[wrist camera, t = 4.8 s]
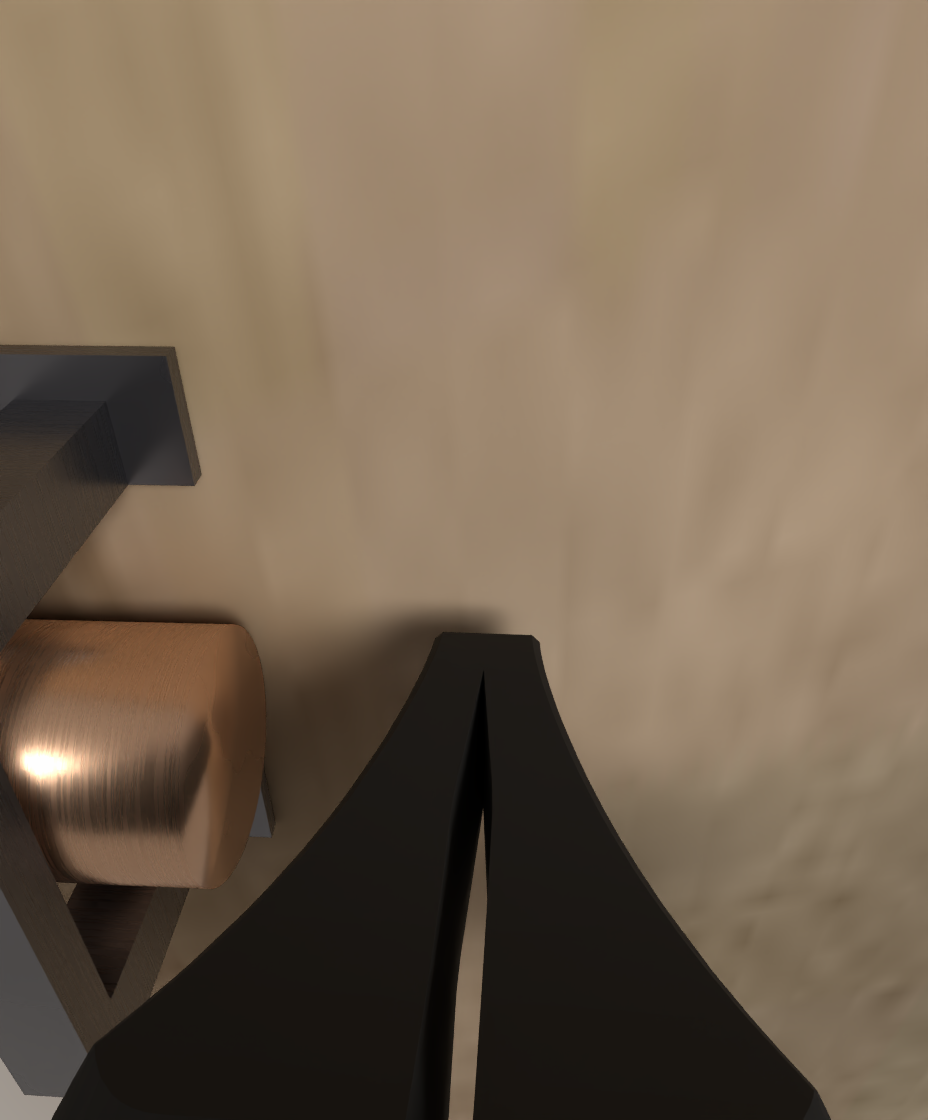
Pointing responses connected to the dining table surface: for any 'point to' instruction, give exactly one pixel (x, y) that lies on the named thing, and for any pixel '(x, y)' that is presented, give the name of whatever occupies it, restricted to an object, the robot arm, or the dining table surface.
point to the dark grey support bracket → (3, 605)
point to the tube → (134, 747)
